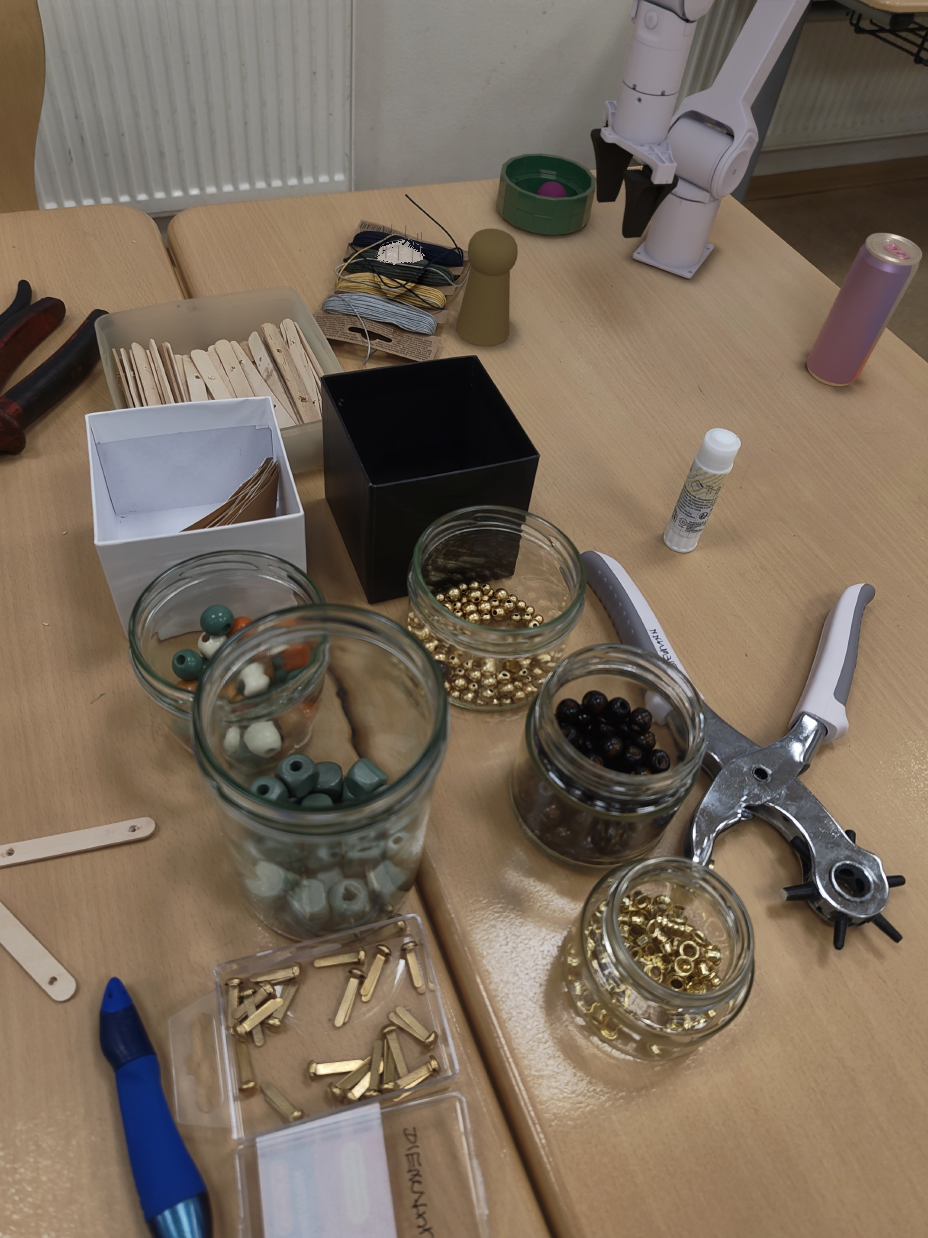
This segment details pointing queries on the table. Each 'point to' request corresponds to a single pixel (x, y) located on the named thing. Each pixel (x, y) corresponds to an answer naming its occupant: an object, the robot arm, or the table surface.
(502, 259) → the olive brown pawn
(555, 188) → the ball
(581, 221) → the bowl
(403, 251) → the pincushion
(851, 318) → the beverage can
